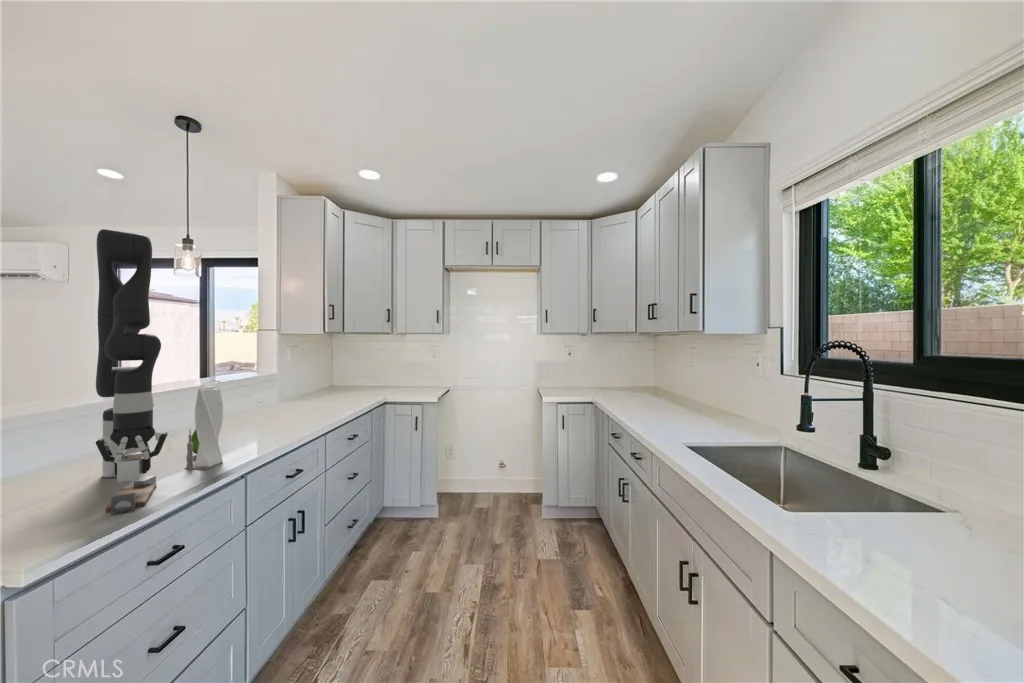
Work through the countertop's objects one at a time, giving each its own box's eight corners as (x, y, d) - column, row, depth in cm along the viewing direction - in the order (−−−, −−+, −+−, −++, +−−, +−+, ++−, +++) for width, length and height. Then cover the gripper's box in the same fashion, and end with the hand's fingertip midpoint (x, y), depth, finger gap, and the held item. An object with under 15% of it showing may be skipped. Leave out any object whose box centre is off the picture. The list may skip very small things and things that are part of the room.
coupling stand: (124, 488, 108) (125, 474, 108) (158, 483, 112) (158, 469, 112) (101, 517, 91) (101, 500, 91) (142, 509, 95) (142, 493, 95)
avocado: (210, 457, 137) (210, 423, 137) (184, 458, 136) (185, 424, 136) (222, 450, 145) (222, 419, 145) (198, 451, 144) (199, 419, 144)
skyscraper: (206, 461, 133) (207, 380, 133) (229, 461, 132) (229, 380, 132) (184, 469, 124) (185, 382, 124) (208, 469, 124) (209, 383, 124)
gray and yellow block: (117, 482, 96) (117, 462, 96) (127, 471, 104) (127, 452, 104) (139, 479, 98) (139, 459, 98) (147, 468, 107) (147, 450, 107)
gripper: (89, 414, 94) (89, 484, 94) (166, 408, 102) (166, 473, 102) (99, 409, 100) (98, 475, 100) (171, 405, 109) (171, 465, 109)
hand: (133, 474), depth 101 cm, fingers closed on gray and yellow block, 4 cm apart
